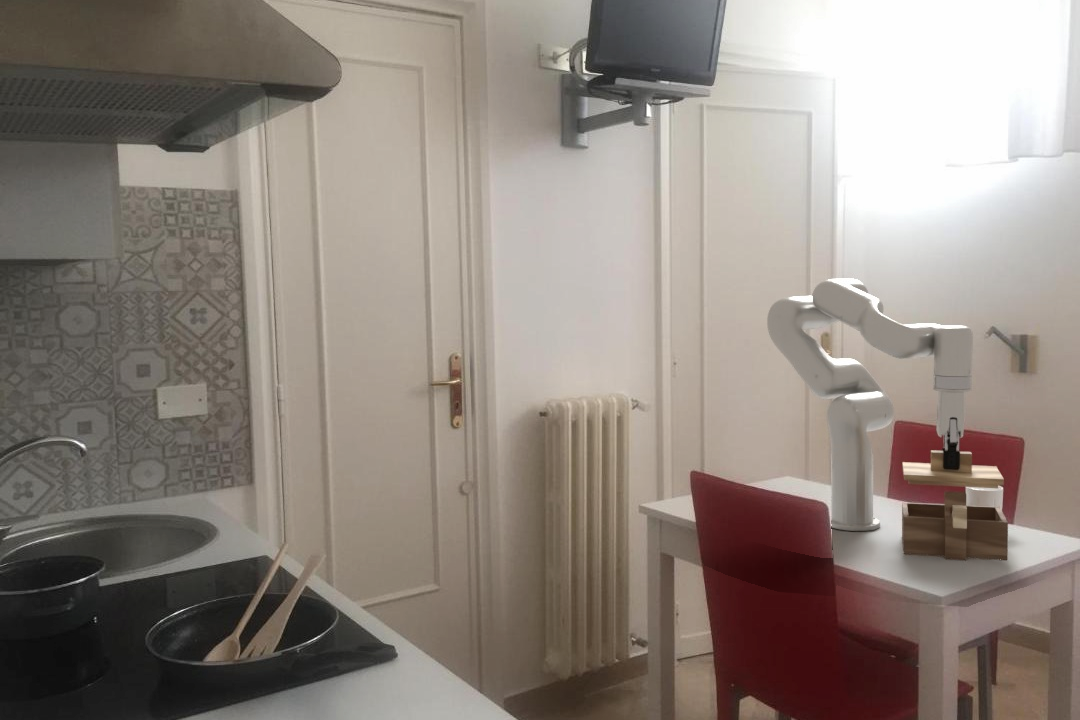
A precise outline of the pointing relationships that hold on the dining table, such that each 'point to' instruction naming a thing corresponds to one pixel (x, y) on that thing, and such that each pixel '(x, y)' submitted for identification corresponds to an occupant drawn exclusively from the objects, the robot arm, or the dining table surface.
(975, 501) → the white cup
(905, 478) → the lid
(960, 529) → the toolbox
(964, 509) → the wooden key
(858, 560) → the dining table surface
